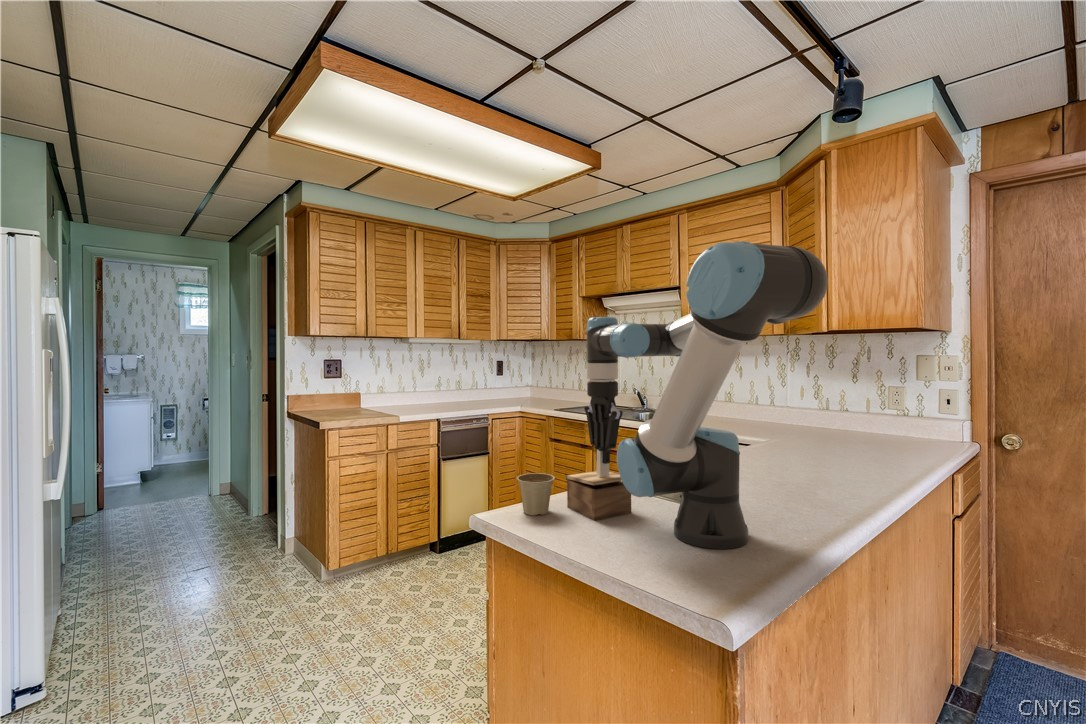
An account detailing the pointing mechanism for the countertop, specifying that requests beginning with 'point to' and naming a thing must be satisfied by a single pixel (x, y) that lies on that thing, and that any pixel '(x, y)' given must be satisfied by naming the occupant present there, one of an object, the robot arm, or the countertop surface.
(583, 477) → the lid
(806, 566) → the countertop surface
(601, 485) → the box
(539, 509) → the flower pot
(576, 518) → the countertop surface
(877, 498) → the countertop surface
